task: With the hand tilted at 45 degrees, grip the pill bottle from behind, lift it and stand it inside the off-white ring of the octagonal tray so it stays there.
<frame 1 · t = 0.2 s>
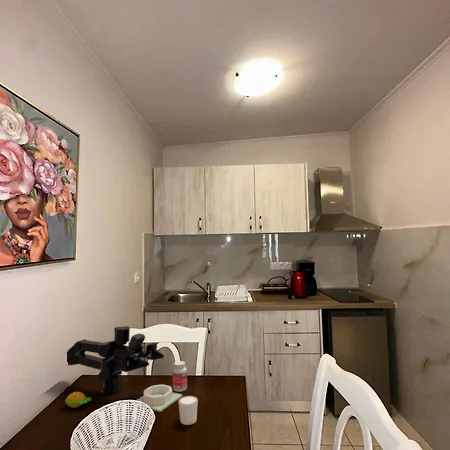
hand: (156, 360, 127), 17 cm above the table, tool horizontal, fingers open, 9 cm apart
shot glass: (188, 421, 112), on the table
octagonal tray: (158, 399, 128), on the table
toy pineapple: (78, 407, 124), on the table
pill bottle: (180, 389, 138), on the table
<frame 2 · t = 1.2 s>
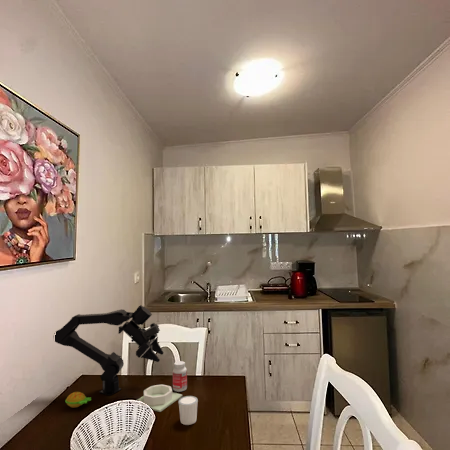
hand: (161, 357, 138), 14 cm above the table, tool tilted 45°, fingers open, 9 cm apart
nothing on the table moved.
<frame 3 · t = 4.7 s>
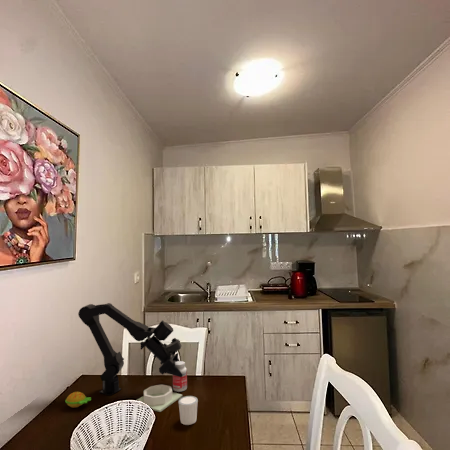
hand: (182, 373, 138), 7 cm above the table, tool tilted 45°, fingers closed on pill bottle, 6 cm apart
pill bottle: (180, 389, 138), on the table, touching gripper
everything else where it was.
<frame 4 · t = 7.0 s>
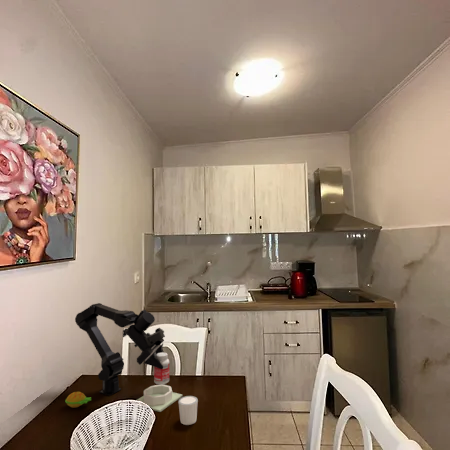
hand: (165, 365, 130), 13 cm above the table, tool tilted 45°, fingers closed on pill bottle, 6 cm apart
pill bottle: (161, 382, 130), point 6 cm above the table, touching gripper
everything else where it was.
when the fingers open (8 cm above the table, at t = 9.3 s): pill bottle drops 1 cm, resting on octagonal tray.
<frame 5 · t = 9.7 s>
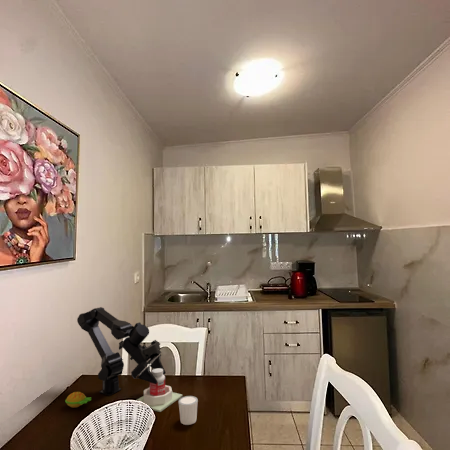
hand: (161, 378, 129), 9 cm above the table, tool tilted 45°, fingers open, 9 cm apart
pill bottle: (157, 398, 128), resting on octagonal tray
everything else where it was.
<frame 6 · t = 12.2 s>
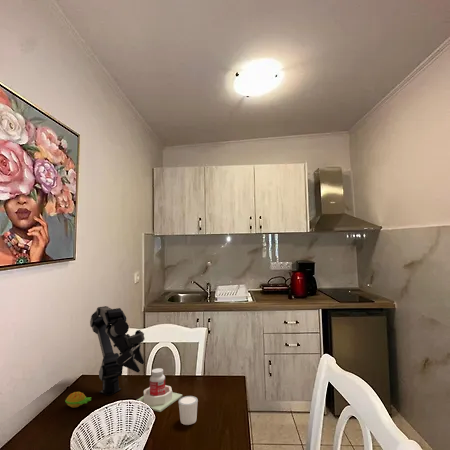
hand: (141, 367, 132), 12 cm above the table, tool tilted 35°, fingers open, 9 cm apart
nothing on the table moved.
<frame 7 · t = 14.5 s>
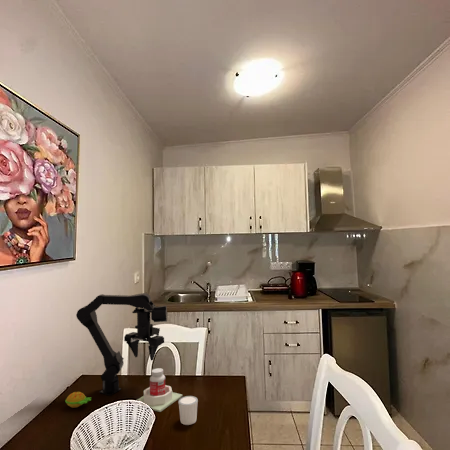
hand: (144, 358, 139), 13 cm above the table, tool pointing down, fingers open, 9 cm apart
nothing on the table moved.
at the end: pill bottle 0.2 cm off-centre on the octagonal tray, point 0.4 cm above the octagonal tray's base; pill bottle tilted 0°; the gripper is holding nothing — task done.
